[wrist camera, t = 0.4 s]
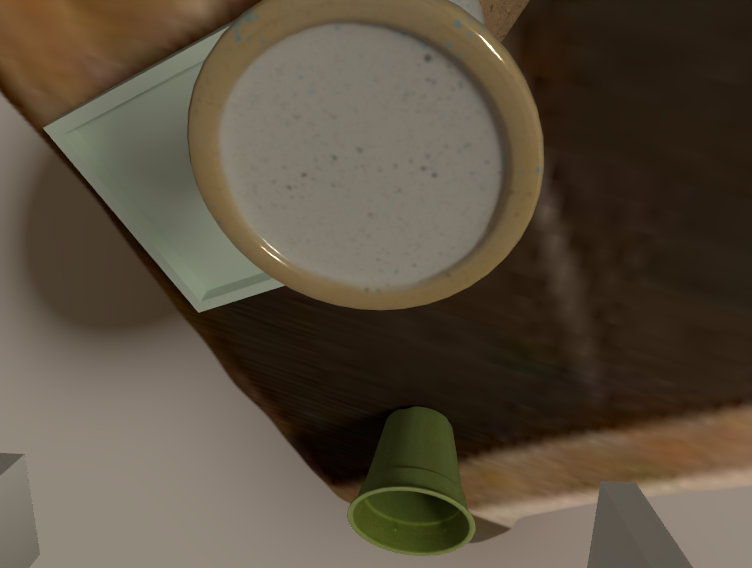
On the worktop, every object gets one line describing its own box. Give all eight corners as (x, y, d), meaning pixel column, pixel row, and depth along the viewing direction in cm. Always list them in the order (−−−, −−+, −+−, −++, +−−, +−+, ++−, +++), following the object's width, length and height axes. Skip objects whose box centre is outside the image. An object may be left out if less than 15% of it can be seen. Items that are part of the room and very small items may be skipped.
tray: (62, 114, 43) (42, 128, 41) (264, 3, 36) (252, 13, 34) (208, 294, 53) (198, 312, 51) (390, 235, 46) (386, 253, 44)
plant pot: (473, 462, 64) (472, 562, 55) (369, 453, 65) (352, 548, 57) (478, 393, 56) (478, 496, 48) (361, 385, 58) (341, 483, 49)
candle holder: (307, 24, 37) (132, 226, 18) (388, -167, 30) (243, -152, 12) (450, 110, 39) (423, 367, 20) (555, -50, 32) (657, 118, 14)
